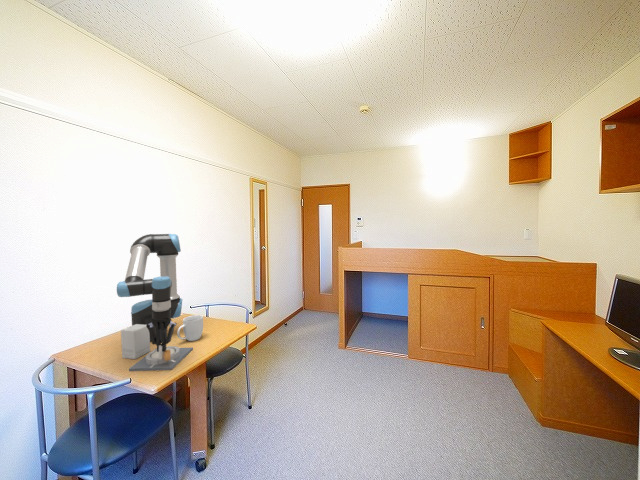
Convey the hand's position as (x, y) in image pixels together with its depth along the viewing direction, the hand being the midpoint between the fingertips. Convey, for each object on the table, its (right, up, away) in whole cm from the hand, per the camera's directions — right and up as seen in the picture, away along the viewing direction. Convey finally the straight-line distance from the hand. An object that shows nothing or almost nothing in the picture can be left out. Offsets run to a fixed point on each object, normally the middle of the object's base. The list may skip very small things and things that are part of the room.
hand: (161, 357), depth 117 cm
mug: (-2, -4, +31) cm, 32 cm away
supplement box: (-23, -5, +14) cm, 27 cm away
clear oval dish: (-2, -3, +6) cm, 7 cm away
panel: (-4, -5, +8) cm, 10 cm away
